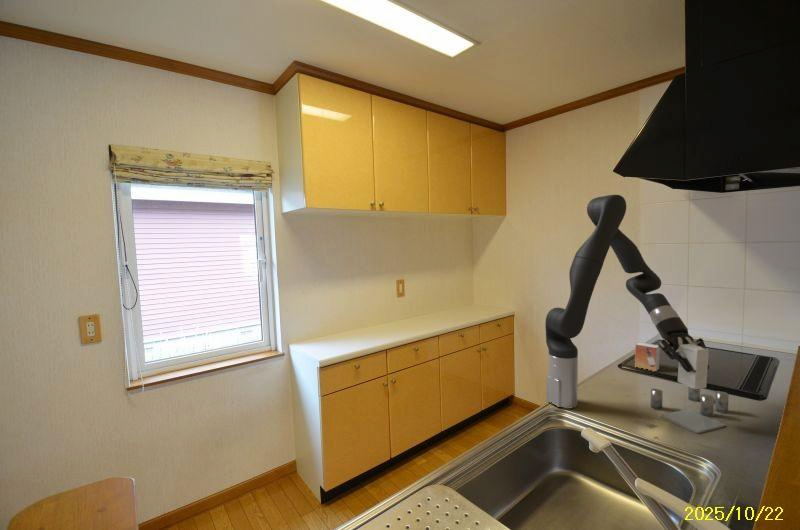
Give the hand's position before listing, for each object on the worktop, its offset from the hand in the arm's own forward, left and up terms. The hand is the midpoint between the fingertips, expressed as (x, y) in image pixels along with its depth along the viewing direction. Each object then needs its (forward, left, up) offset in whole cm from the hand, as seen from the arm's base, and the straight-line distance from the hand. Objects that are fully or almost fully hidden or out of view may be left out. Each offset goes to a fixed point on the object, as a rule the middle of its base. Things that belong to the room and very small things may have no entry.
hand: (698, 370), depth 110 cm
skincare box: (0, +2, -5) cm, 6 cm away
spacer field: (+8, +7, -17) cm, 20 cm away
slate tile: (0, +2, -17) cm, 17 cm away
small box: (+32, +41, -17) cm, 55 cm away
